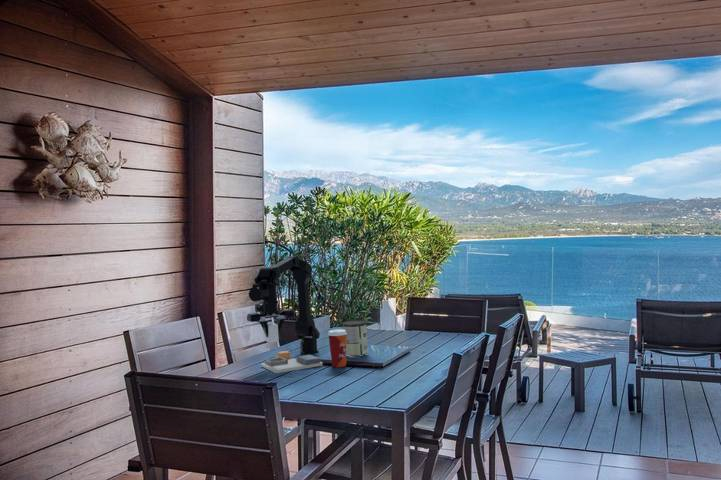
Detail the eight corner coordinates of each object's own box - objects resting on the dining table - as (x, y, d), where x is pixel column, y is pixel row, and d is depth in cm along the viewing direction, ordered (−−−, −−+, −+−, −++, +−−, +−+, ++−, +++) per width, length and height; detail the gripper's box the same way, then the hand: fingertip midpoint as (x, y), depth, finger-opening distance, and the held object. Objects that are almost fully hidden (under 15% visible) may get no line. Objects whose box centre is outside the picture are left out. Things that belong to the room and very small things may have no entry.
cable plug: (280, 357, 293) (279, 348, 293) (290, 361, 283) (289, 352, 282) (271, 358, 291) (271, 349, 291) (281, 363, 281) (280, 353, 281)
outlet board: (306, 359, 285) (306, 352, 285) (322, 365, 271) (322, 358, 271) (261, 366, 276) (261, 359, 276) (275, 373, 261) (275, 366, 261)
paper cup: (346, 367, 264) (344, 332, 264) (327, 368, 266) (325, 332, 265) (350, 363, 272) (348, 328, 271) (332, 363, 273) (330, 329, 273)
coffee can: (345, 353, 294) (343, 320, 293) (369, 352, 293) (367, 319, 292) (342, 358, 284) (340, 324, 283) (367, 357, 283) (365, 323, 282)
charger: (275, 340, 278) (274, 323, 278) (278, 341, 274) (277, 324, 274) (266, 341, 276) (265, 324, 276) (269, 342, 272) (268, 325, 272)
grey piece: (310, 359, 279) (309, 354, 279) (320, 362, 270) (319, 358, 270) (296, 361, 276) (296, 356, 276) (306, 365, 268) (306, 360, 267)
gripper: (284, 294, 286) (286, 331, 286) (241, 299, 278) (244, 336, 278) (294, 296, 276) (296, 334, 276) (250, 301, 268) (252, 340, 268)
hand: (272, 336), depth 275 cm, fingers closed on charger, 4 cm apart
